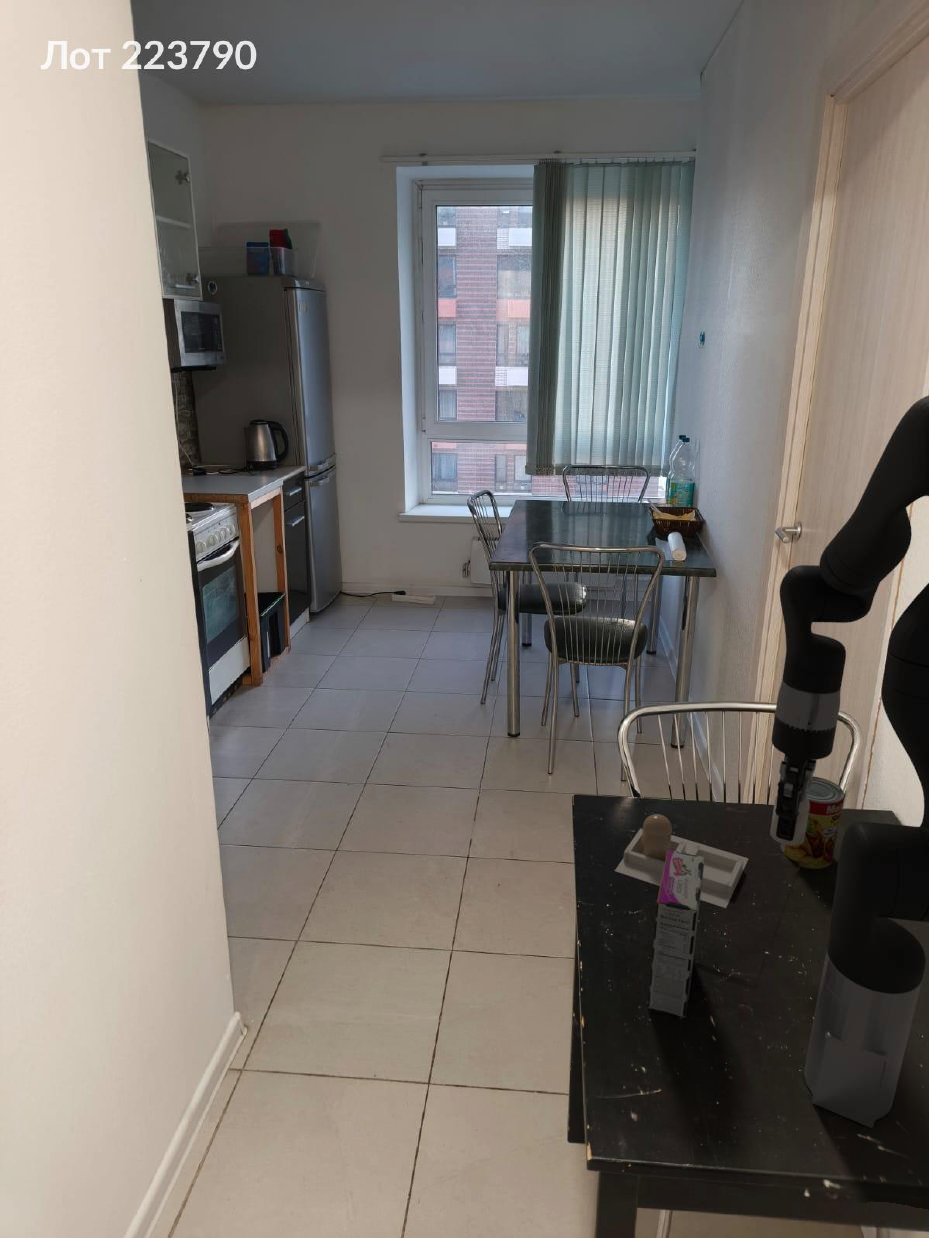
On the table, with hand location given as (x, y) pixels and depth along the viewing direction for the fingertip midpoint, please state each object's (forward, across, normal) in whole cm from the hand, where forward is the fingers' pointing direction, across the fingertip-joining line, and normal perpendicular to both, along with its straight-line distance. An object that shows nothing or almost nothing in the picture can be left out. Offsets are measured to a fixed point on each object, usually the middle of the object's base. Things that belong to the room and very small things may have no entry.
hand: (788, 828), depth 117 cm
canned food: (+16, +20, -1) cm, 26 cm away
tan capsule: (+15, +6, +20) cm, 25 cm away
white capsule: (+1, 0, 0) cm, 1 cm away
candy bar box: (+16, -19, +9) cm, 26 cm away
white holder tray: (+16, +6, +15) cm, 23 cm away
